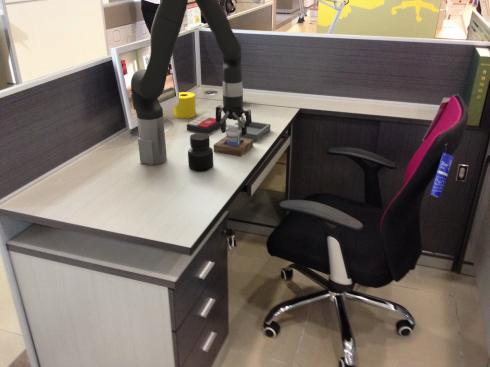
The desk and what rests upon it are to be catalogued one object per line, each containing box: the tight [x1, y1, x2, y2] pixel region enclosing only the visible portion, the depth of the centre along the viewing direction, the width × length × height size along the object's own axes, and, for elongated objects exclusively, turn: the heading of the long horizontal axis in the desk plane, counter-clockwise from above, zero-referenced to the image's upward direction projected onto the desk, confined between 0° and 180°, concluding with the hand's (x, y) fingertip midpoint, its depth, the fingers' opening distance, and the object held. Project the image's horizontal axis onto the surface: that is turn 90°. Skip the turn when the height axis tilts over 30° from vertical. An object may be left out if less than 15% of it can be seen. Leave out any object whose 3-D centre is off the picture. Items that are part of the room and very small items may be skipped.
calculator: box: [186, 112, 227, 135], centre depth 208 cm, size 11×4×15 cm
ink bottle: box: [187, 132, 214, 173], centre depth 168 cm, size 10×9×12 cm
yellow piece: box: [173, 91, 197, 119], centre depth 222 cm, size 10×10×9 cm
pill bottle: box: [227, 123, 241, 146], centre depth 184 cm, size 5×5×10 cm
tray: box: [225, 119, 271, 143], centre depth 200 cm, size 14×14×3 cm
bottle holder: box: [213, 135, 254, 158], centre depth 185 cm, size 12×12×3 cm
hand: (233, 133), depth 184 cm, fingers open, 8 cm apart
